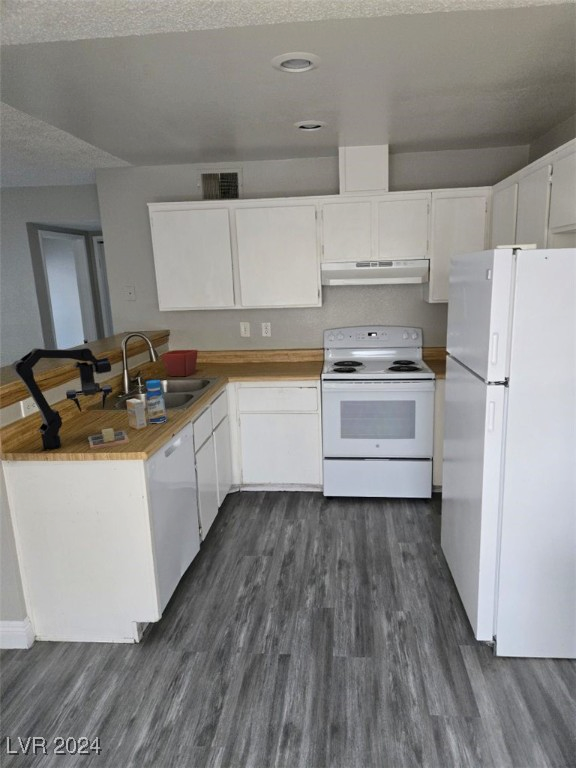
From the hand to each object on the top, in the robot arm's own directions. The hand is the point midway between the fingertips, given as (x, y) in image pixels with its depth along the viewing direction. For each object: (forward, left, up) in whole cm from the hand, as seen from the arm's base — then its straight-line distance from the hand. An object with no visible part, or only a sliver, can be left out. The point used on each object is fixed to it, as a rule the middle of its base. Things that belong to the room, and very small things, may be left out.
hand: (92, 410), depth 224 cm
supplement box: (+19, +2, -12) cm, 23 cm away
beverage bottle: (+29, +6, -12) cm, 32 cm away
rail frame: (+4, -11, -12) cm, 17 cm away
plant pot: (+67, +119, -12) cm, 137 cm away
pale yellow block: (+4, -15, -12) cm, 20 cm away
